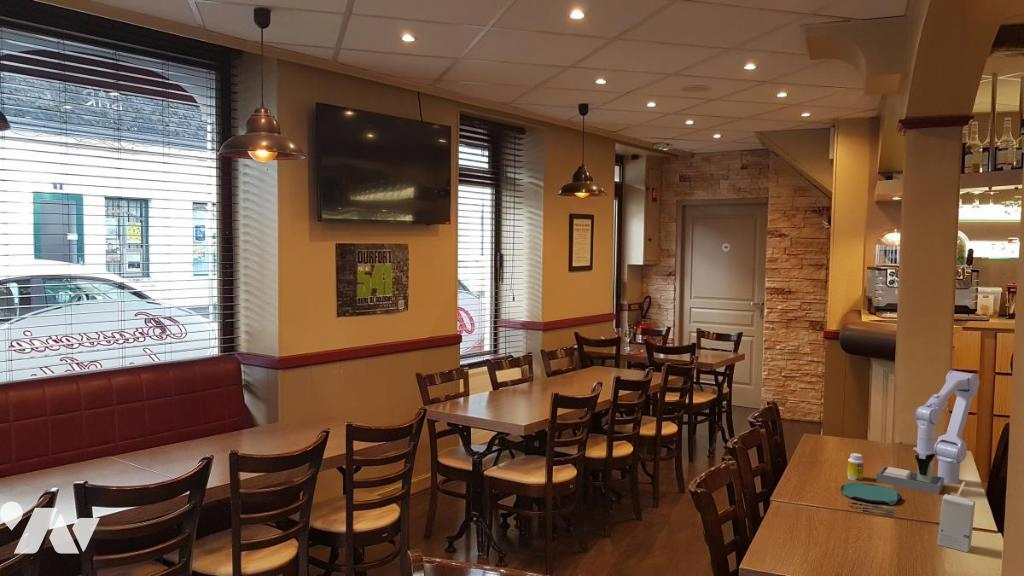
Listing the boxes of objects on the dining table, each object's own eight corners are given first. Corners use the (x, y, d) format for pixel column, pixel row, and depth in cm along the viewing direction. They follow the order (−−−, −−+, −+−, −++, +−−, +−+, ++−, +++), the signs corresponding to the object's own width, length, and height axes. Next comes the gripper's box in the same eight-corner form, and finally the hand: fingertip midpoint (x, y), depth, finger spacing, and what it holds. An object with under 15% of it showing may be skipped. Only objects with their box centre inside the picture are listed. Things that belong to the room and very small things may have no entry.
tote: (883, 476, 286) (883, 466, 286) (943, 487, 273) (944, 477, 273) (876, 484, 276) (876, 473, 276) (938, 496, 263) (939, 485, 263)
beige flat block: (887, 476, 283) (888, 466, 283) (910, 480, 279) (910, 470, 278) (883, 481, 276) (883, 471, 276) (906, 486, 271) (906, 476, 271)
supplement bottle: (857, 483, 276) (858, 457, 276) (844, 479, 281) (845, 453, 280) (865, 481, 279) (866, 455, 279) (852, 477, 284) (853, 451, 284)
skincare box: (937, 545, 218) (940, 497, 217) (941, 539, 223) (943, 492, 222) (969, 553, 213) (972, 504, 212) (972, 547, 217) (975, 499, 217)
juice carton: (918, 477, 275) (920, 456, 274) (931, 480, 272) (933, 459, 271) (916, 479, 271) (918, 459, 271) (929, 482, 268) (931, 462, 268)
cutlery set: (900, 493, 266) (901, 487, 266) (900, 520, 240) (900, 513, 240) (842, 484, 276) (842, 478, 276) (835, 509, 250) (836, 503, 250)
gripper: (917, 432, 279) (915, 467, 280) (910, 440, 268) (908, 475, 268) (938, 436, 275) (936, 470, 275) (932, 443, 263) (930, 479, 264)
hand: (924, 473), depth 272 cm, fingers closed on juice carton, 4 cm apart
